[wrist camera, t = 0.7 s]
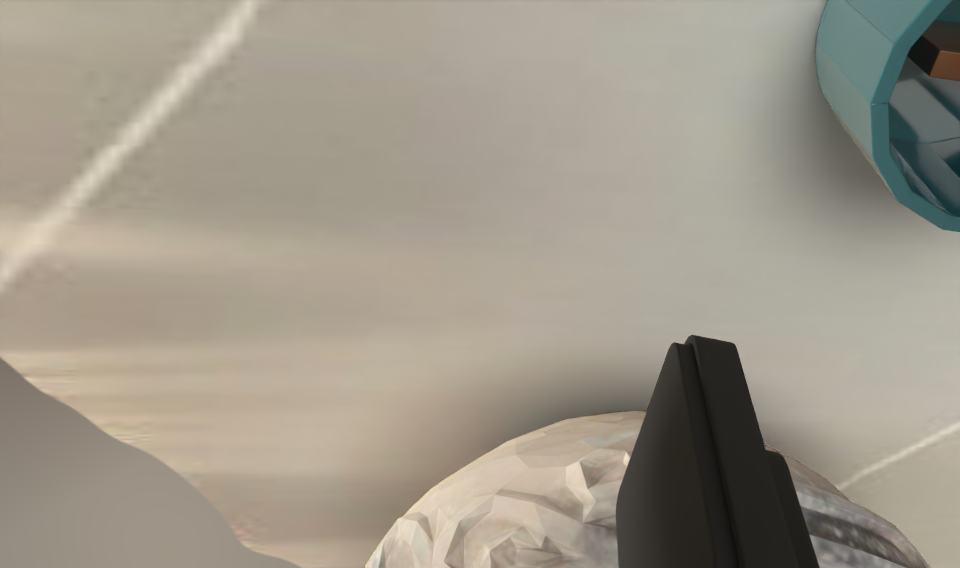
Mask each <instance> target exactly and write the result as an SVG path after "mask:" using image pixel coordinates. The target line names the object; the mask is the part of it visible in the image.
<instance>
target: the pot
mask: <svg viewBox="0 0 960 568" xmlns="http://www.w3.org/2000/svg"><path fill="white" fill-rule="evenodd" d="M935 20H938V21H945V22H951V23H958V24H960V0H828V1H827V4H826V6H825V9H824V11H823V14H822V17H821V21H820V25H819V28H818V34H817V41H816V67H817V73H818V79H819V82H820V88H821V91H822V93H823V95H824V96H825V98H826V100H827V102H828V104H829V105H830V107H831V108H832V110H833V112H834V113H835V115H836V117H837V118H838V120H839V122H840V123H841V125H842V126H843V128H844V129H845V131H846V132H847V133H848V135H849V136H850V137H851V139H852V140H853V142H854V143H855V144H856V146H857V147H858V148H859V150H860V151H861V152H862V154H863V155H864V157H865V158H866V159H867V161H868V162H869V163H870V165H871V166H872V167H873V169H874V170H875V172H876V173H877V174H878V176H879V177H880V178H881V180H882V181H883V182H884V184H885V185H886V187H887V188H888V189H889V191H890V192H891V193H892V195H893V196H894V197H895V199H896V200H897V201H898V202H899V203H901V204H902V205H904V206H905V207H907V208H908V209H910V210H912V211H913V212H915V213H916V214H918V215H920V216H921V217H923V218H924V219H926V220H928V221H929V222H931V223H932V224H934V225H936V226H937V227H939V228H941V229H943V230H950V231H956V232H960V81H954V80H947V79H941V78H934V77H930V76H928V75H927V74H926V73H925V72H924V71H923V70H922V69H920V68H919V67H918V66H917V65H916V64H915V63H914V62H913V61H912V60H910V59H909V58H908V57H907V55H908V52H909V50H910V48H911V47H912V46H913V45H914V44H915V42H916V41H917V40H918V39H919V38H920V37H921V36H922V34H923V33H924V32H925V31H926V30H927V29H928V28H929V26H930V25H931V24H932V23H933V22H934V21H935Z"/></svg>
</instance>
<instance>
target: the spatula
mask: <svg viewBox="0 0 960 568" xmlns="http://www.w3.org/2000/svg"><path fill="white" fill-rule="evenodd" d="M907 57H908V58H909V59H910V60H912V61H913V62H914V63H915V64H916V65H917V66H918V67H919V68H920V69H922V70H923V71H924V72H925V73H926V74H927V75H928V76H930V77H934V78H941V79H947V80H954V81H960V24H958V23H951V22H945V21H938V20H935V21H934V22H933V23H932V24H931V25H930V26H929V28H928V29H927V30H926V31H925V32H924V33H923V34H922V36H921V37H920V38H919V39H918V40H917V41H916V42H915V44H914V45H913V46H912V47H911V48H910V50H909V52H908V55H907Z"/></svg>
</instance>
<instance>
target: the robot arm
mask: <svg viewBox="0 0 960 568" xmlns="http://www.w3.org/2000/svg"><path fill="white" fill-rule="evenodd" d="M616 531H617V548H618V565H619V568H820V567H819V564H818V561H817V557H816V554H815V551H814V548H813V545H812V541H811V538H810V535H809V532H808V529H807V525H806V522H805V519H804V516H803V512H802V509H801V506H800V503H799V500H798V496H797V493H796V490H795V487H794V484H793V480H792V477H791V474H790V471H789V467H788V465H787V463H786V460H785V458H784V456H782V455H781V454H780V453H779V452H774V451H769V450H765V446H764V443H763V439H762V436H761V432H760V429H759V425H758V422H757V418H756V415H755V411H754V408H753V404H752V401H751V397H750V394H749V390H748V387H747V383H746V380H745V376H744V372H743V369H742V365H741V362H740V358H739V355H738V351H737V348H736V346H735V344H733V343H731V342H726V341H721V340H716V339H710V338H705V337H700V336H695V335H691V336H689V337H688V339H687V340H686V342H685V344H679V343H672V345H671V346H670V348H669V350H668V353H667V355H666V358H665V361H664V364H663V367H662V370H661V372H660V375H659V378H658V381H657V384H656V386H655V389H654V392H653V395H652V398H651V401H650V403H649V406H648V409H647V412H646V415H645V418H644V420H643V423H642V426H641V429H640V432H639V435H638V437H637V440H636V443H635V446H634V449H633V452H632V454H631V457H630V460H629V463H628V466H627V468H626V471H625V474H624V477H623V480H622V483H621V485H620V489H619V492H618V497H617V503H616Z"/></svg>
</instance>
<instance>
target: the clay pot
mask: <svg viewBox="0 0 960 568" xmlns="http://www.w3.org/2000/svg"><path fill="white" fill-rule="evenodd" d="M645 415H646V412H645V411H627V412H617V413H607V414H600V415H594V416H584V417H578V418H572V419H566V420H563V421H560V422H557V423H554V424H552V425H549V426H546V427H543V428H540V429H537V430H535V431H532V432H530V433H527V434H524V435H522V436H519V437H517V438H514V439H512V440H509V441H507V442H505V443H503V444H502V445H500V446H499V447H497V448H495V449H494V450H492V451H491V452H489V453H487V454H485V455H483V456H481V457H480V458H478V459H476V460H475V461H473V462H472V463H470V464H468V465H467V466H465V467H463V468H462V469H460V470H459V471H457V472H455V473H454V474H452V475H450V476H449V477H447V478H446V479H444V480H443V481H441V482H440V483H439V484H437V485H436V486H434V487H433V488H431V489H430V490H429V491H428V492H427V493H426V494H425V495H424V496H423V497H422V498H421V499H420V500H418V501H417V502H416V503H415V504H414V505H413V506H412V507H411V508H410V509H409V510H408V511H407V512H406V513H405V514H404V515H403V517H400V518H398V519H397V521H396V522H395V523H394V525H393V526H392V528H391V529H390V530H389V531H388V533H387V534H386V535H385V537H384V538H383V540H382V541H381V542H380V544H379V545H378V547H377V548H376V550H375V551H374V553H373V554H372V556H371V558H370V559H369V561H368V562H367V564H366V566H365V567H364V568H619V565H618V548H617V531H616V503H617V497H618V492H619V489H620V485H621V483H622V480H623V477H624V474H625V471H626V468H627V466H628V463H629V460H630V457H631V454H632V452H633V449H634V446H635V443H636V440H637V437H638V435H639V432H640V429H641V426H642V423H643V420H644V418H645ZM765 450H769V451H774V452H778V451H775V450H773V449H771V448H769V447H767V446H765ZM779 453H780V452H779ZM780 454H781V455H782V456H784V458H785V460H786V463H787V465H788V467H789V471H790V474H791V477H792V480H793V484H794V487H795V490H796V493H797V496H798V500H799V503H800V506H801V509H802V512H803V516H804V519H805V522H806V525H807V529H808V532H809V535H810V538H811V541H812V545H813V548H814V551H815V554H816V557H817V561H818V564H819V567H820V568H930V567H929V565H928V564H927V563H926V561H925V560H924V559H923V557H922V556H921V555H920V554H919V552H918V551H917V550H916V548H915V547H914V546H913V545H912V544H911V543H910V542H909V540H908V539H907V538H906V537H905V536H904V535H903V534H902V533H901V532H900V531H899V529H898V528H897V527H896V526H895V525H893V524H892V523H890V522H888V521H887V520H885V519H883V518H882V517H880V516H878V515H877V514H875V513H873V512H872V511H870V510H868V509H866V508H864V507H862V506H859V505H857V504H855V503H853V502H851V501H850V500H849V499H848V498H847V497H845V496H844V495H843V494H842V493H841V492H840V491H839V490H838V489H837V488H835V487H834V486H833V485H832V484H831V483H830V482H829V481H828V480H827V479H825V478H824V477H822V476H820V475H819V474H817V473H816V472H814V471H812V470H811V469H809V468H807V467H806V466H804V465H803V464H801V463H799V462H797V461H796V460H794V459H792V458H790V457H788V456H787V455H784V454H782V453H780Z"/></svg>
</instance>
